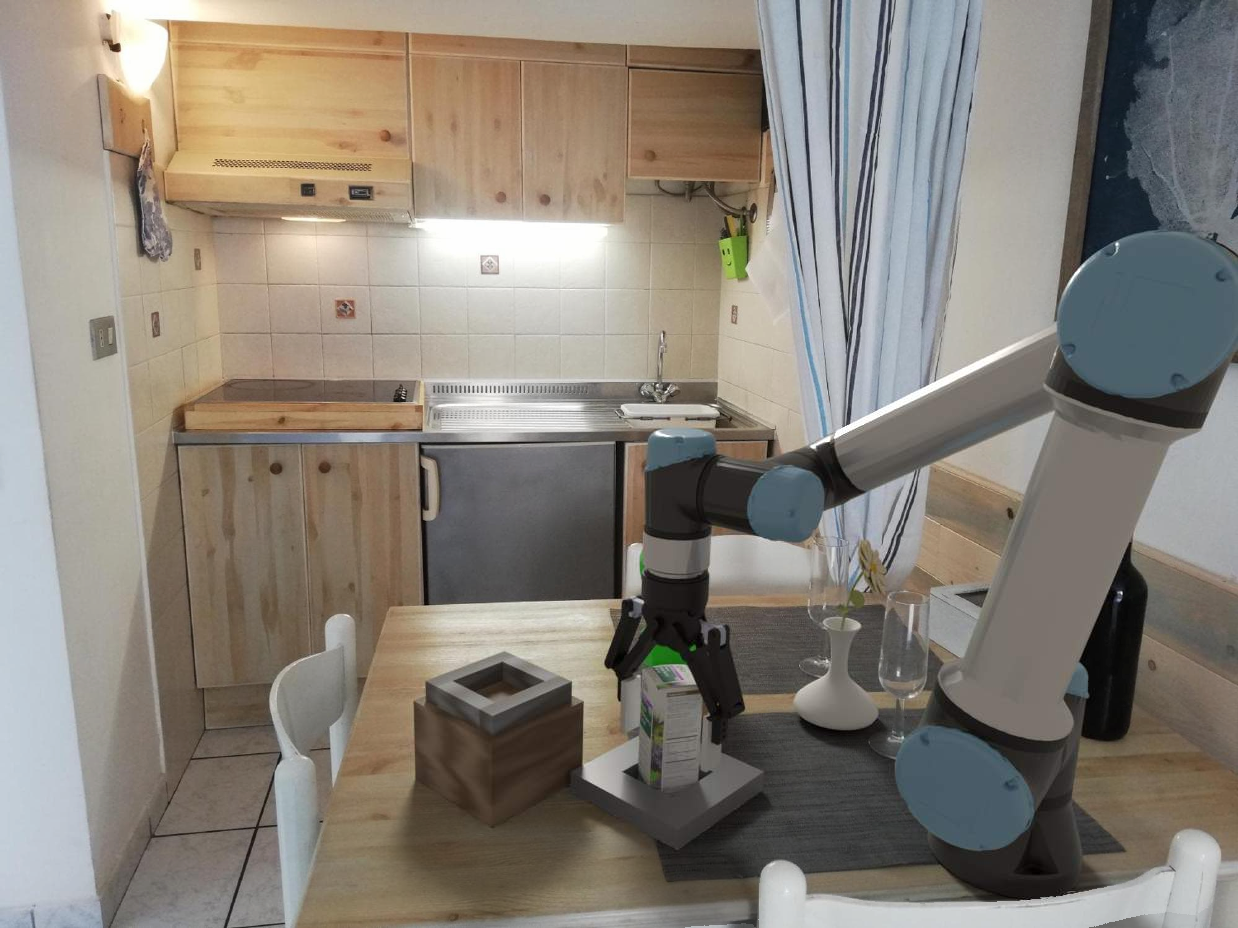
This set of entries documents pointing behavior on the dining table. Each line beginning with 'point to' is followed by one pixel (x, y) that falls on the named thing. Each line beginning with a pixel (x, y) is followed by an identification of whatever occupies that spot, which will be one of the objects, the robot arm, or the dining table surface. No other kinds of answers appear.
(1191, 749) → the dining table surface
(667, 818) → the low socket block
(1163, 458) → the robot arm
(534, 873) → the dining table surface
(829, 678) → the flower in vase
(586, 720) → the dining table surface
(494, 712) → the raised socket
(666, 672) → the syrup box
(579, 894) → the dining table surface
